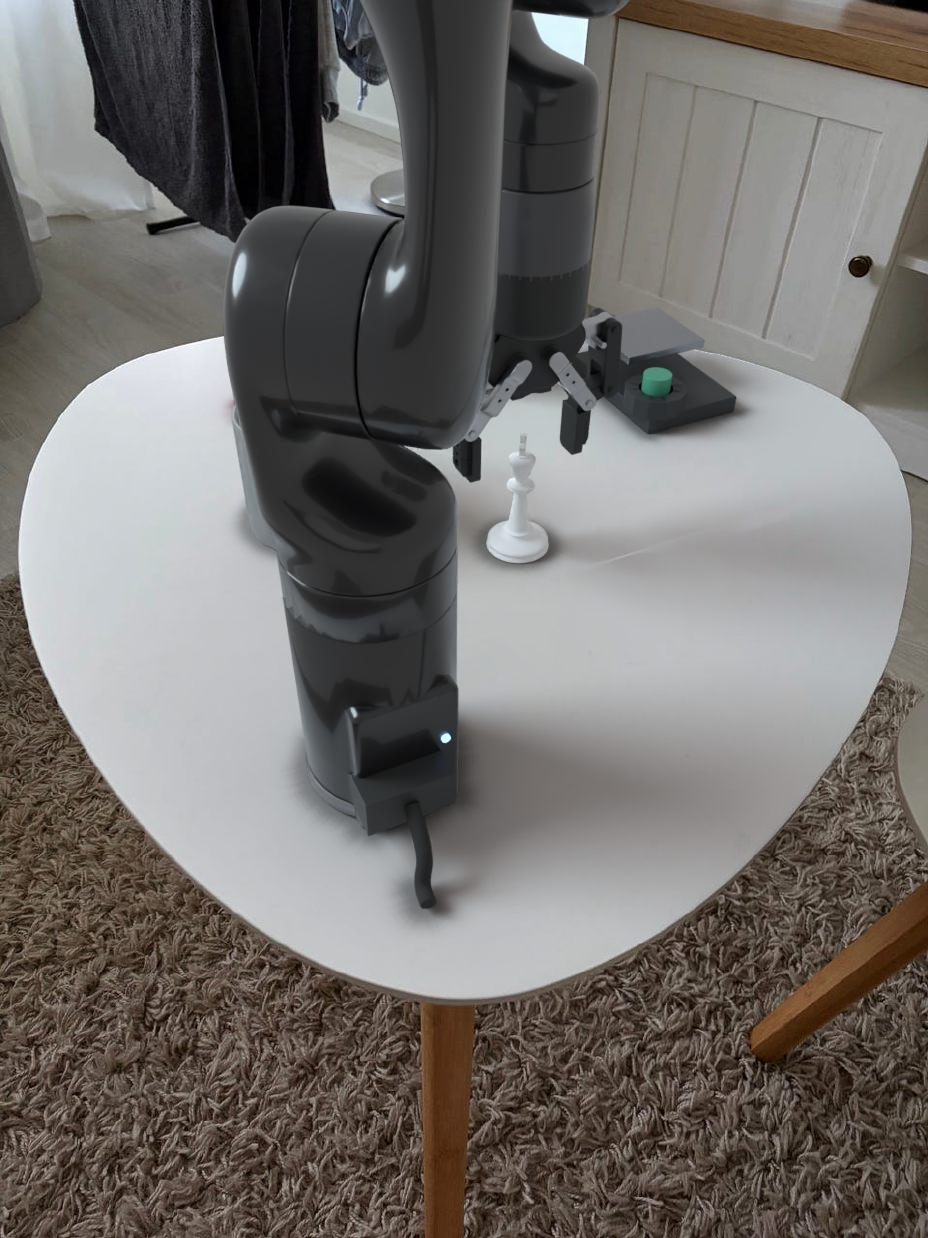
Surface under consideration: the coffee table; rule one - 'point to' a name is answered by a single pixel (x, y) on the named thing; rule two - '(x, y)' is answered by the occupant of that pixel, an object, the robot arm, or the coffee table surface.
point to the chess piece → (519, 516)
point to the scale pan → (654, 336)
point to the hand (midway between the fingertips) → (521, 462)
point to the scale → (684, 404)
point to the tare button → (656, 381)
